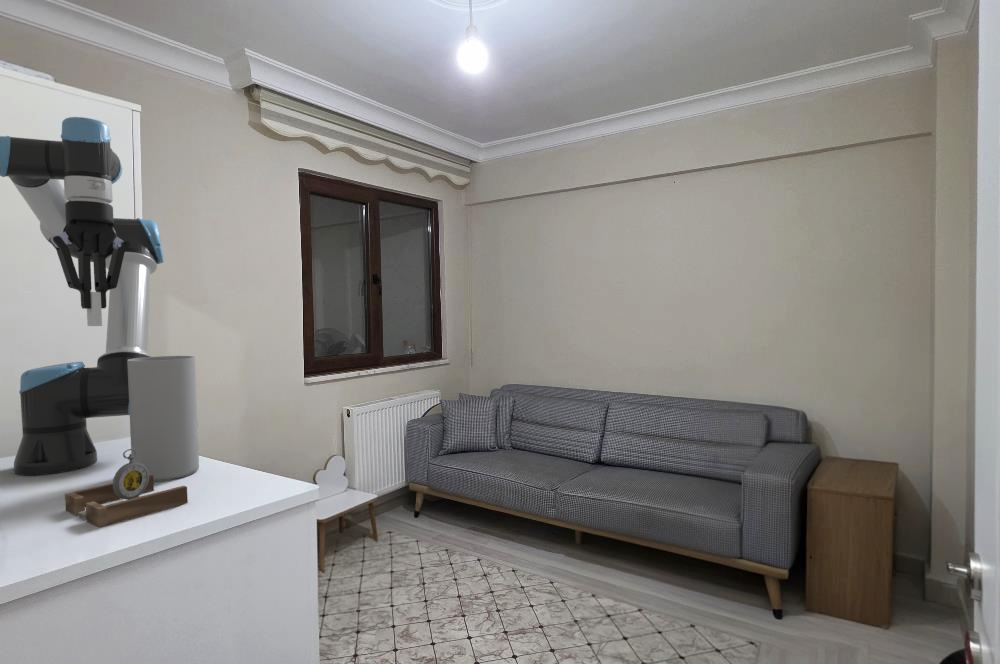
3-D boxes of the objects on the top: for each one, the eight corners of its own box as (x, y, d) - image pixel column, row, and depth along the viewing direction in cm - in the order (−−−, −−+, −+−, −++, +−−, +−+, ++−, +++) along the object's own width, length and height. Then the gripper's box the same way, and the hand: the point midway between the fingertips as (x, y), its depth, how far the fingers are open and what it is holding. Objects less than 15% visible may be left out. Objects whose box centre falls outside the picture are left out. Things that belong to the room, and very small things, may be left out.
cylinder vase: (118, 479, 123) (113, 360, 122) (171, 463, 134) (167, 355, 133) (160, 485, 118) (155, 361, 117) (212, 469, 130) (208, 356, 128)
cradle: (65, 510, 104) (64, 493, 104) (150, 489, 115) (150, 474, 115) (99, 527, 95) (98, 509, 95) (187, 502, 107) (187, 486, 107)
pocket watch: (160, 509, 104) (158, 453, 103) (107, 514, 102) (104, 457, 101) (174, 495, 112) (172, 443, 111) (125, 499, 110) (123, 446, 109)
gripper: (55, 195, 104) (62, 327, 106) (135, 204, 115) (140, 324, 116) (40, 200, 109) (46, 327, 110) (118, 209, 119) (123, 324, 120)
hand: (94, 325), depth 113 cm, fingers closed
